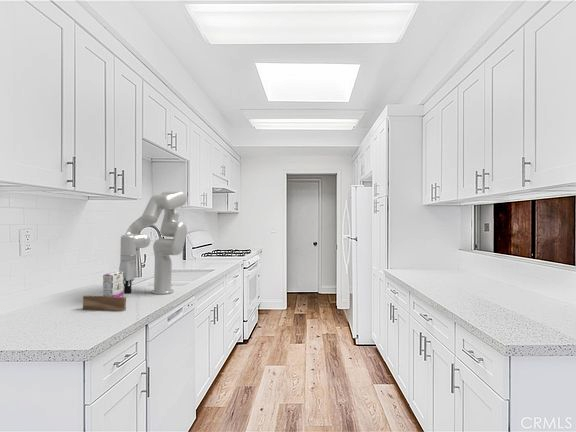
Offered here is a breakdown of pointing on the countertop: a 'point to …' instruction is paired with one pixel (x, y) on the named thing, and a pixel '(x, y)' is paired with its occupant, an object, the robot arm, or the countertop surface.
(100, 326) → the countertop surface
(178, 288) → the countertop surface
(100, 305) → the board
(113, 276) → the candy bar box
